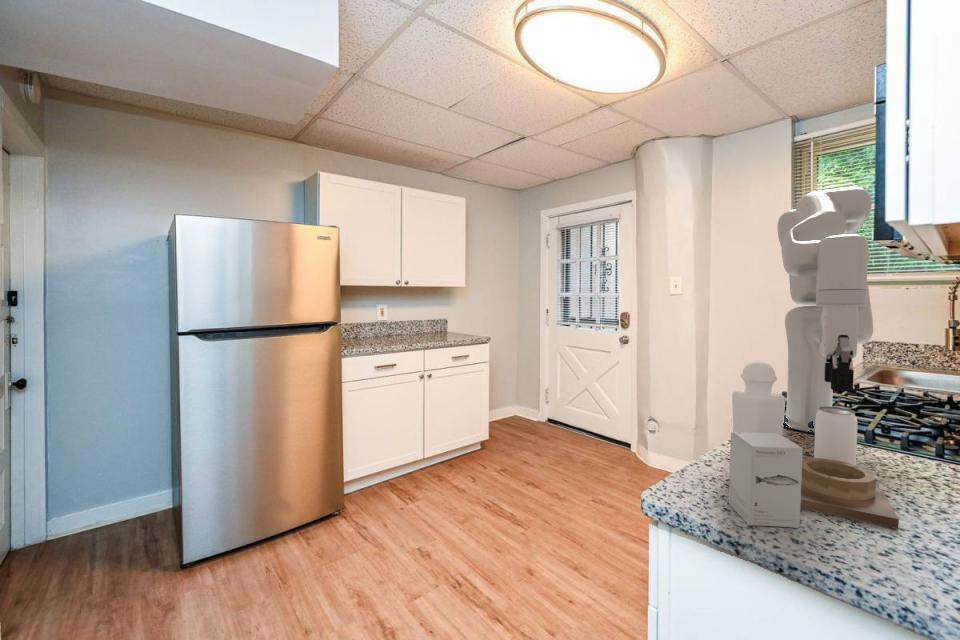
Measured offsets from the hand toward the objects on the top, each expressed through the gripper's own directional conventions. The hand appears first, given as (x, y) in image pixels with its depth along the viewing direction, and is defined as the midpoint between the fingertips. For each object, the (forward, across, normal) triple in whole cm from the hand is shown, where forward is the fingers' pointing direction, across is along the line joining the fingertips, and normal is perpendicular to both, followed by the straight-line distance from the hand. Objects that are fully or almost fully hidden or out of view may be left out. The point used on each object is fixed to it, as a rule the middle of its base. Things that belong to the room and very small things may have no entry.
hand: (837, 386), depth 85 cm
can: (+17, -1, 0) cm, 17 cm away
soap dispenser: (+17, +8, -13) cm, 23 cm away
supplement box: (+18, +28, -12) cm, 35 cm away
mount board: (+17, +13, -2) cm, 22 cm away
